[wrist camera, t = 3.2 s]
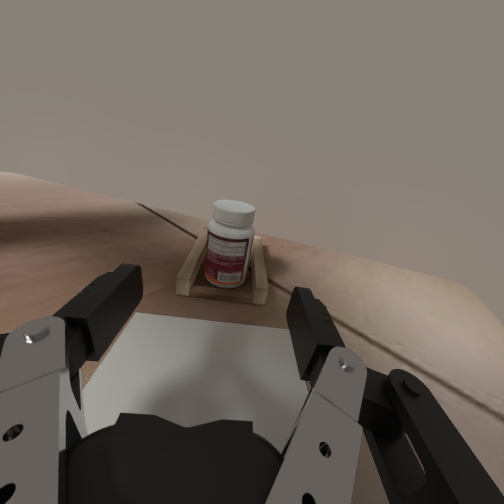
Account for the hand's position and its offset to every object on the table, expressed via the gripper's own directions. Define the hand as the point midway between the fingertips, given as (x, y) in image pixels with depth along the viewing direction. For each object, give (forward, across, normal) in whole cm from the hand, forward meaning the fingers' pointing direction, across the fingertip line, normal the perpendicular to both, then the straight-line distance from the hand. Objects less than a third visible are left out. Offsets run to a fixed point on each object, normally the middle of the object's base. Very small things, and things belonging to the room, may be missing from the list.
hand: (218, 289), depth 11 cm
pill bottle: (+11, 0, +7) cm, 13 cm away
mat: (-1, 0, +6) cm, 7 cm away
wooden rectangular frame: (+13, 0, +6) cm, 15 cm away
